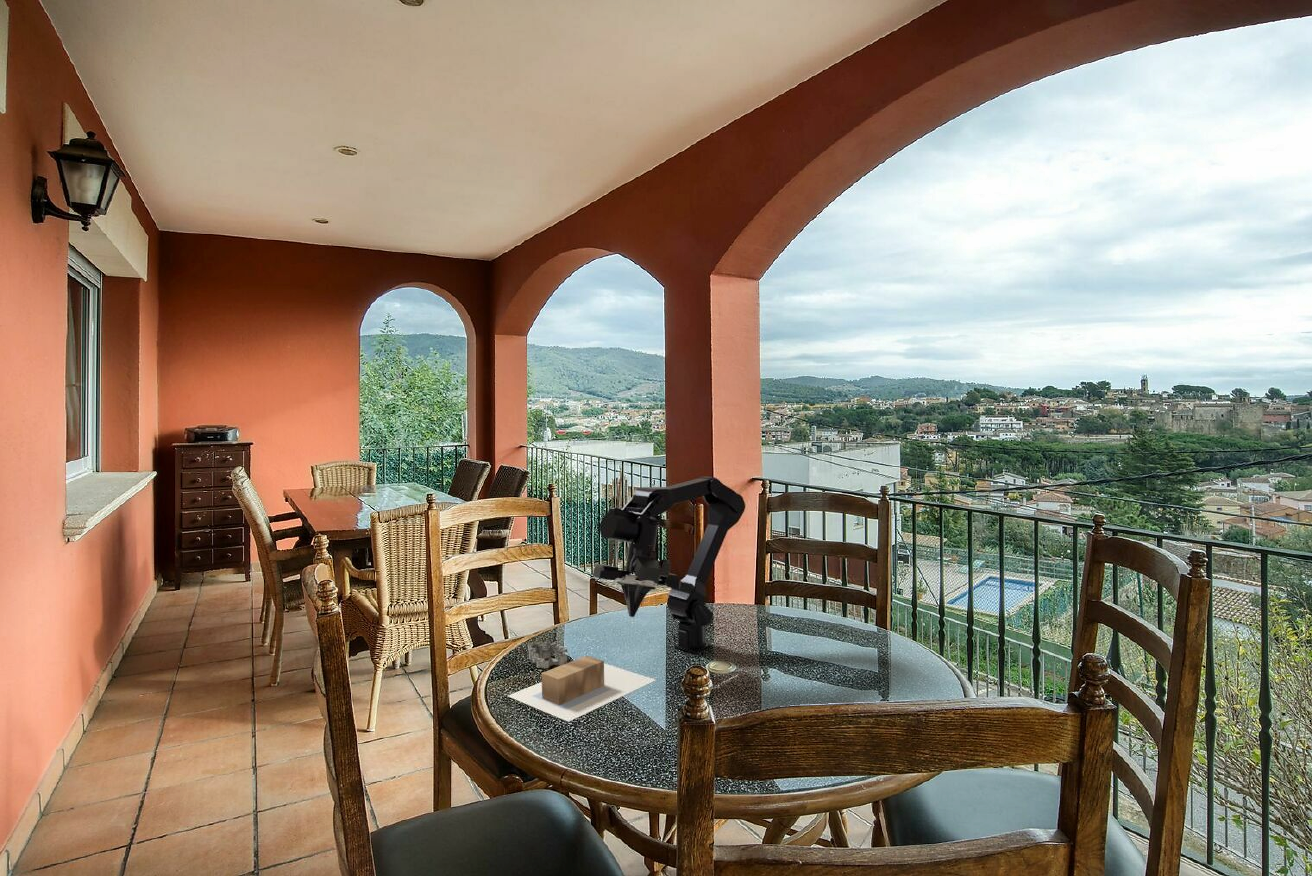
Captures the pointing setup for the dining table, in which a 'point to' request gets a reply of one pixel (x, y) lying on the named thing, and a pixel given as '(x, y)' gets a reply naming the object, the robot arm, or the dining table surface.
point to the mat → (614, 688)
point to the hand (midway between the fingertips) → (631, 616)
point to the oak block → (572, 680)
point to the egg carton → (547, 654)
